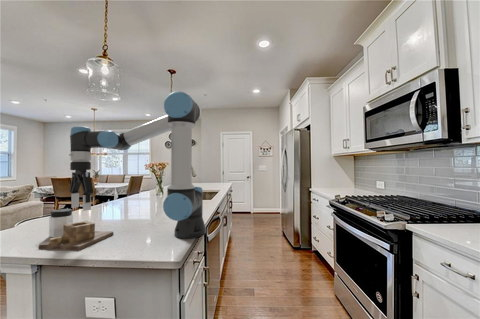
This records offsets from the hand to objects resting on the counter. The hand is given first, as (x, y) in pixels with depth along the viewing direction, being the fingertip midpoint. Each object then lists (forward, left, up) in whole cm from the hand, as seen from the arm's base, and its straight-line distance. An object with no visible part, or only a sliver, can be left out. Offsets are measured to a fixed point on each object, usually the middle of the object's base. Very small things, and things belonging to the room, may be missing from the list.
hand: (80, 208), depth 100 cm
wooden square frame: (+2, +3, -13) cm, 13 cm away
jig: (0, 0, -14) cm, 14 cm away
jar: (+16, -7, -15) cm, 23 cm away
